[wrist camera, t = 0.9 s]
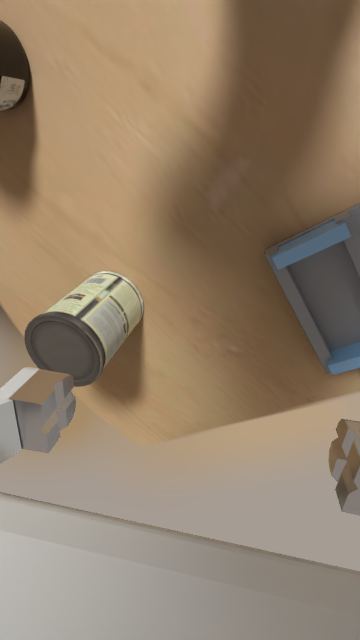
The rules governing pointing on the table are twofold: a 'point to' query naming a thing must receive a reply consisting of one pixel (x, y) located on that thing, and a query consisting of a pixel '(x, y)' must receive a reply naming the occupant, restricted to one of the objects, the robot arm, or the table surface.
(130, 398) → the table surface
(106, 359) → the coffee can
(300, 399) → the table surface
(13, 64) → the ink bottle
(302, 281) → the board
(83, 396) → the table surface
